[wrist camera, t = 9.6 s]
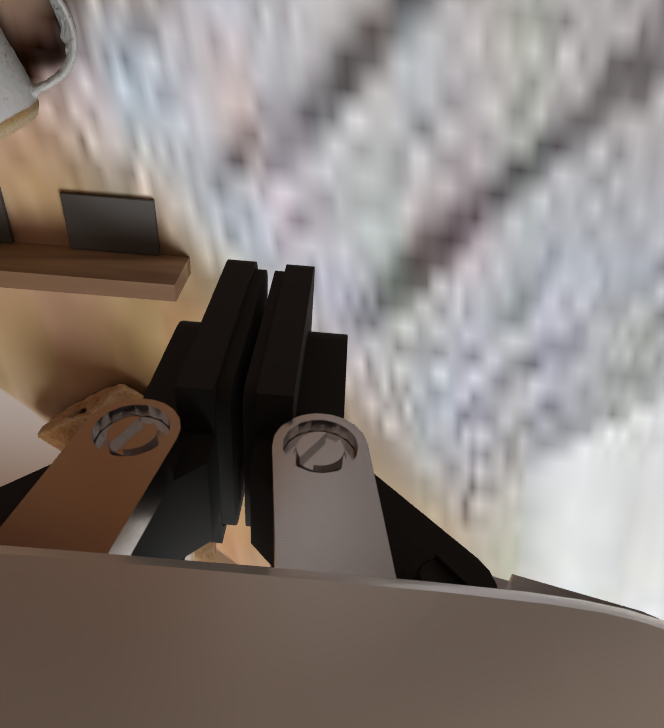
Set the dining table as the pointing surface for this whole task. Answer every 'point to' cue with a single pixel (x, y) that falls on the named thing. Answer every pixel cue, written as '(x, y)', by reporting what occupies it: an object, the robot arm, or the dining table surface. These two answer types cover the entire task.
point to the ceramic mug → (13, 86)
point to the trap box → (96, 252)
